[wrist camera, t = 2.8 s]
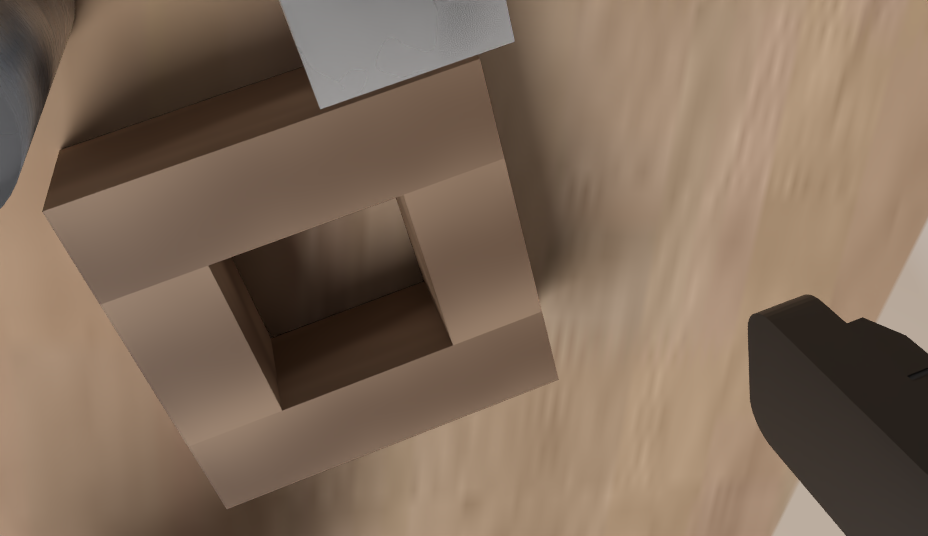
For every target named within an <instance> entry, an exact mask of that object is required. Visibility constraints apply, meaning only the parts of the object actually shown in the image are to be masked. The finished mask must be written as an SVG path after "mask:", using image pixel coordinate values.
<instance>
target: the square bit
mask: <svg viewBox="0 0 928 536" xmlns="http://www.w3.org/2000/svg"><path fill="white" fill-rule="evenodd" d="M278 1H279V3H280V6H281V8H282V11H283V14H284V16H285V19H286V21H287V24H288V27H289V29H290V32H291V34H292V37H293V40H294V42H295V45H296V47H297V50H298V53H299V55H300V58H301V60H302V63H303V66H304V68H305V71H306V73H307V76H308V79H309V81H310V84H311V87H312V89H313V92H314V94H315V97H316V100H317V102H318V105H319V107H320V109H323V108H325V107H328V106H331V105H334V104H337V103H340V102H343V101H346V100H348V99H351V98H354V97H357V96H360V95H363V94H366V93H369V92H371V91H374V90H377V89H380V88H383V87H386V86H389V85H392V84H394V83H397V82H400V81H403V80H406V79H409V78H412V77H415V76H417V75H420V74H423V73H426V72H429V71H432V70H435V69H437V68H440V67H443V66H446V65H449V64H452V63H455V62H458V61H460V60H463V59H466V58H469V57H472V56H475V55H478V54H481V53H483V52H486V51H489V50H492V49H495V48H498V47H501V46H504V45H506V44H509V43H512V42H515V40H514V35H513V31H512V26H511V21H510V17H509V12H508V8H507V3H506V0H278Z"/></svg>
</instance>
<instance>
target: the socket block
mask: <svg viewBox="0 0 928 536" xmlns="http://www.w3.org/2000/svg"><path fill="white" fill-rule="evenodd" d="M393 198H396V199H397V202H398V205H399V208H400V211H401V214H402V217H403V220H404V223H405V226H406V229H407V232H408V235H409V238H410V241H411V244H412V247H413V250H414V253H415V256H416V259H417V262H418V264H419V267H420V270H421V273H422V276H423V279H424V282H421V283H419V284H416V285H413V286H411V287H408V288H405V289H403V290H400V291H397V292H395V293H392V294H389V295H387V296H384V297H381V298H378V299H376V300H373V301H370V302H368V303H365V304H362V305H360V306H357V307H354V308H352V309H349V310H346V311H344V312H341V313H338V314H336V315H333V316H330V317H328V318H325V319H322V320H320V321H317V322H314V323H312V324H309V325H306V326H303V327H301V328H298V329H295V330H293V331H290V332H287V333H285V334H282V335H279V336H277V337H274V338H270V336H269V334H268V332H267V330H266V327H265V325H264V323H263V321H262V319H261V317H260V315H259V313H258V311H257V309H256V307H255V305H254V303H253V301H252V299H251V297H250V295H249V293H248V291H247V289H246V286H245V284H244V282H243V280H242V278H241V276H240V274H239V272H238V270H237V268H236V266H235V264H234V262H233V260H232V258H231V257H233V256H236V255H239V254H242V253H244V252H247V251H250V250H253V249H255V248H258V247H261V246H264V245H266V244H269V243H272V242H275V241H277V240H280V239H283V238H286V237H289V236H291V235H294V234H297V233H300V232H302V231H305V230H308V229H311V228H313V227H316V226H319V225H322V224H324V223H327V222H330V221H333V220H335V219H338V218H341V217H344V216H346V215H349V214H352V213H355V212H358V211H360V210H363V209H366V208H369V207H371V206H374V205H377V204H380V203H382V202H385V201H388V200H391V199H393ZM42 212H43V214H44V215H45V217H46V218H47V220H48V222H49V223H50V225H51V226H52V228H53V230H54V231H55V233H56V235H57V236H58V238H59V239H60V241H61V243H62V244H63V246H64V247H65V249H66V251H67V252H68V254H69V255H70V257H71V259H72V260H73V262H74V264H75V265H76V267H77V268H78V270H79V272H80V273H81V275H82V276H83V278H84V280H85V281H86V283H87V285H88V286H89V288H90V289H91V291H92V293H93V294H94V296H95V297H96V299H97V301H98V302H99V304H100V306H101V307H102V309H103V310H104V312H105V314H106V315H107V317H108V318H109V320H110V322H111V323H112V325H113V327H114V328H115V330H116V331H117V333H118V335H119V336H120V338H121V339H122V341H123V343H124V344H125V346H126V348H127V349H128V351H129V352H130V354H131V356H132V357H133V359H134V360H135V362H136V364H137V365H138V367H139V369H140V370H141V372H142V373H143V375H144V377H145V378H146V380H147V381H148V383H149V385H150V386H151V388H152V390H153V391H154V393H155V394H156V396H157V398H158V399H159V401H160V402H161V404H162V406H163V407H164V409H165V411H166V412H167V414H168V415H169V417H170V419H171V420H172V422H173V423H174V425H175V427H176V428H177V430H178V432H179V433H180V435H181V436H182V438H183V440H184V441H185V443H186V444H187V446H188V448H189V449H190V451H191V452H192V454H193V456H194V457H195V459H196V461H197V462H198V464H199V465H200V467H201V469H202V470H203V472H204V473H205V475H206V477H207V478H208V480H209V482H210V483H211V485H212V486H213V488H214V490H215V491H216V493H217V494H218V496H219V498H220V499H221V501H222V503H223V504H224V506H225V507H226V509H229V508H232V507H234V506H237V505H239V504H242V503H244V502H247V501H249V500H252V499H255V498H257V497H260V496H262V495H265V494H267V493H270V492H273V491H275V490H278V489H280V488H283V487H285V486H288V485H290V484H293V483H296V482H298V481H301V480H303V479H306V478H308V477H311V476H313V475H316V474H319V473H321V472H324V471H326V470H329V469H331V468H334V467H336V466H339V465H342V464H344V463H347V462H349V461H352V460H354V459H357V458H359V457H362V456H365V455H367V454H370V453H372V452H375V451H377V450H380V449H382V448H385V447H388V446H390V445H393V444H395V443H398V442H400V441H403V440H405V439H408V438H411V437H413V436H416V435H418V434H421V433H423V432H426V431H428V430H431V429H434V428H436V427H439V426H441V425H444V424H446V423H449V422H452V421H454V420H457V419H459V418H462V417H464V416H467V415H469V414H472V413H475V412H477V411H480V410H482V409H485V408H487V407H490V406H492V405H495V404H498V403H500V402H503V401H505V400H508V399H510V398H513V397H515V396H518V395H521V394H523V393H526V392H528V391H531V390H533V389H536V388H538V387H541V386H544V385H546V384H549V383H551V382H554V381H556V380H559V379H558V375H557V371H556V367H555V363H554V359H553V355H552V351H551V347H550V343H549V339H548V334H547V330H546V326H545V322H544V318H543V314H542V310H541V306H540V302H539V298H538V294H537V289H536V285H535V281H534V277H533V273H532V269H531V265H530V261H529V257H528V253H527V249H526V244H525V240H524V236H523V232H522V228H521V224H520V220H519V216H518V212H517V208H516V204H515V200H514V195H513V191H512V187H511V183H510V179H509V175H508V171H507V167H506V163H505V159H504V155H503V150H502V146H501V142H500V138H499V134H498V130H497V126H496V122H495V118H494V114H493V110H492V105H491V101H490V97H489V93H488V89H487V85H486V81H485V77H484V73H483V69H482V65H481V61H480V58H479V57H478V56H477V55H475V56H472V57H469V58H466V59H463V60H460V61H458V62H455V63H452V64H449V65H446V66H443V67H440V68H437V69H435V70H432V71H429V72H426V73H423V74H420V75H417V76H415V77H412V78H409V79H406V80H403V81H400V82H397V83H394V84H392V85H389V86H386V87H383V88H380V89H377V90H374V91H371V92H369V93H366V94H363V95H360V96H357V97H354V98H351V99H348V100H346V101H343V102H340V103H337V104H334V105H331V106H328V107H325V108H323V109H320V107H319V105H318V102H317V100H316V97H315V94H314V92H313V89H312V87H311V84H310V81H309V79H308V76H307V73H306V71H305V68H304V67H301V68H298V69H295V70H292V71H289V72H286V73H283V74H280V75H277V76H275V77H272V78H269V79H266V80H263V81H260V82H257V83H254V84H251V85H248V86H245V87H242V88H240V89H237V90H234V91H231V92H228V93H225V94H222V95H219V96H216V97H213V98H210V99H207V100H205V101H202V102H199V103H196V104H193V105H190V106H187V107H184V108H181V109H178V110H175V111H172V112H170V113H167V114H164V115H161V116H158V117H155V118H152V119H149V120H146V121H143V122H140V123H138V124H135V125H132V126H129V127H126V128H123V129H120V130H117V131H114V132H111V133H108V134H105V135H103V136H100V137H97V138H94V139H91V140H88V141H85V142H82V143H79V144H76V145H73V146H70V147H68V148H65V149H62V150H60V151H59V155H58V158H57V162H56V165H55V169H54V172H53V176H52V179H51V183H50V186H49V190H48V193H47V197H46V200H45V204H44V207H43V211H42Z"/></svg>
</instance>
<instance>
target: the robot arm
mask: <svg viewBox="0 0 928 536" xmlns="http://www.w3.org/2000/svg"><path fill="white" fill-rule="evenodd" d="M748 350H749V384H750V402H751V407H752V411H753V414H754V417H755V420H756V422H757V424H758V426H759V428H760V430H761V432H762V434H763V436H764V437H765V439H766V440H767V442H768V443H769V445H770V446H771V447H772V448H773V450H774V451H775V452H776V453H777V454H778V455H779V457H780V458H781V459H782V460H783V461H784V463H785V464H786V465H787V466H788V467H789V468H790V470H791V471H792V472H793V473H794V474H795V476H796V477H797V478H798V479H799V480H800V481H801V483H802V484H803V485H804V486H805V487H806V489H807V490H808V491H809V492H810V493H811V495H813V497H814V498H815V499H816V500H817V502H818V503H819V504H820V505H821V506H822V508H823V509H824V510H825V511H826V512H827V513H828V515H829V516H830V517H831V518H832V519H833V521H834V522H835V523H836V524H837V525H838V527H839V528H840V529H841V530H842V531H843V532H844V534H845V535H846V536H928V353H926V352H925V351H924V350H923V349H922V348H920V347H919V346H918V345H917V344H916V343H914V342H913V341H912V340H911V339H910V338H908V337H907V336H906V335H903V334H901V333H899V332H896V331H894V330H891V329H889V328H887V327H884V326H882V325H879V324H877V323H875V322H872V321H870V320H867V319H865V318H860V319H857V320H855V321H852V322H850V323H846V322H845V321H843V320H842V319H841V318H840V317H839V316H838V315H837V314H835V313H834V312H833V311H832V310H831V309H830V308H829V307H827V306H826V305H825V304H824V303H823V302H822V301H820V300H819V299H818V298H816V297H814V296H812V295H803V296H800V297H797V298H795V299H792V300H789V301H787V302H784V303H782V304H779V305H776V306H774V307H771V308H768V309H766V310H763V311H760V312H758V313H755V314H753V315H752V316H751V317H750V319H749V322H748Z"/></svg>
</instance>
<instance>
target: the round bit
mask: <svg viewBox="0 0 928 536" xmlns="http://www.w3.org/2000/svg"><path fill="white" fill-rule="evenodd" d="M74 18H75V0H0V208H1V207H2V206H3V205H4V204H5V202H6V201H7V200H8V198H9V197H10V195H11V193H12V191H13V189H14V187H15V185H16V183H17V180H18V177H19V175H20V172H21V169H22V166H23V163H24V161H25V158H26V155H27V152H28V150H29V147H30V144H31V141H32V138H33V136H34V133H35V130H36V127H37V124H38V122H39V119H40V116H41V113H42V110H43V108H44V105H45V102H46V99H47V97H48V94H49V91H50V88H51V85H52V83H53V80H54V77H55V74H56V71H57V69H58V66H59V63H60V60H61V57H62V55H63V52H64V49H65V46H66V44H67V41H68V38H69V35H70V32H71V30H72V26H73V23H74Z"/></svg>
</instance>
